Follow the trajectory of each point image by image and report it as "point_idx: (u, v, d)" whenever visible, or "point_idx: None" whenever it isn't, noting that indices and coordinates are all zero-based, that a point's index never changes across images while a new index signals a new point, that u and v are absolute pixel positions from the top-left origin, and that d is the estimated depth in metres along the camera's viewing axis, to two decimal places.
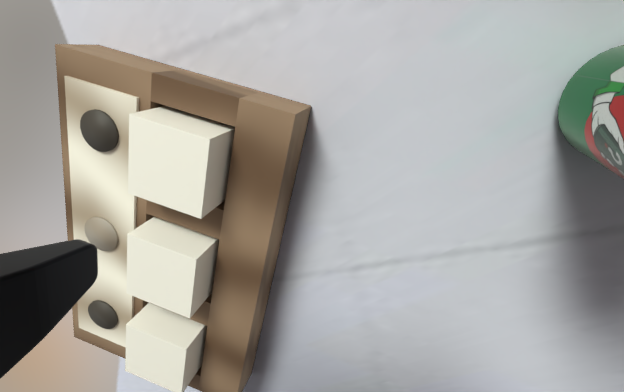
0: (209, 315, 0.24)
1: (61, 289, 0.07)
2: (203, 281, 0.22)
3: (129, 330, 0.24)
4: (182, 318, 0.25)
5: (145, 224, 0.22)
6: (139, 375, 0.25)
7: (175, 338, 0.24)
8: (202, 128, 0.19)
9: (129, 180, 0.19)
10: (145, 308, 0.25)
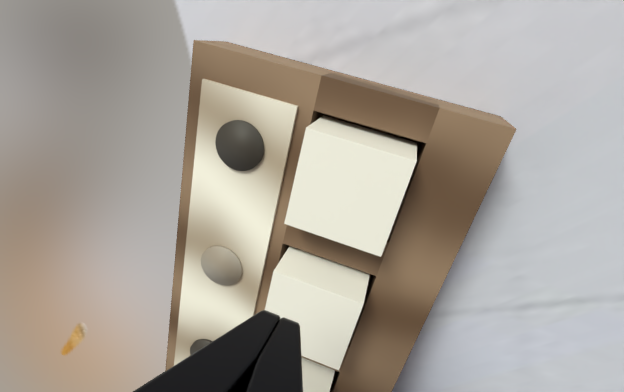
0: (344, 360, 0.21)
1: None
2: None
3: None
4: (308, 362, 0.22)
5: (285, 257, 0.18)
6: None
7: (309, 389, 0.20)
8: (391, 145, 0.15)
9: (289, 208, 0.16)
10: None
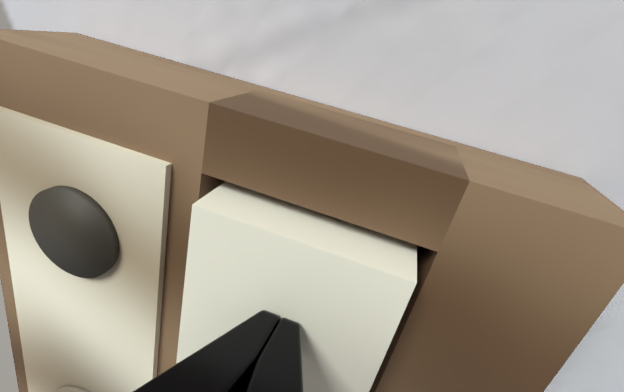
0: None
1: None
2: None
3: None
4: None
5: None
6: None
7: None
8: (368, 234, 0.08)
9: (181, 340, 0.09)
10: None
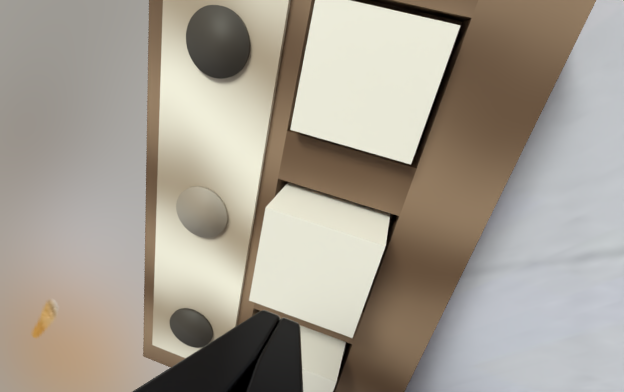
0: (357, 329, 0.17)
1: None
2: None
3: None
4: (312, 333, 0.18)
5: (281, 194, 0.14)
6: None
7: (315, 364, 0.16)
8: None
9: (296, 108, 0.13)
10: None
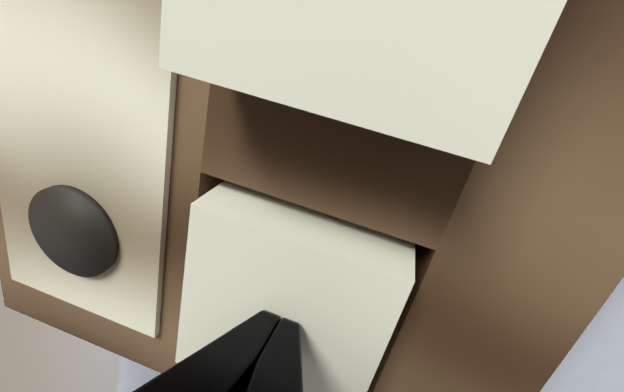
0: (453, 208, 0.07)
1: None
2: None
3: (201, 226, 0.07)
4: None
5: None
6: None
7: (360, 249, 0.07)
8: None
9: None
10: None
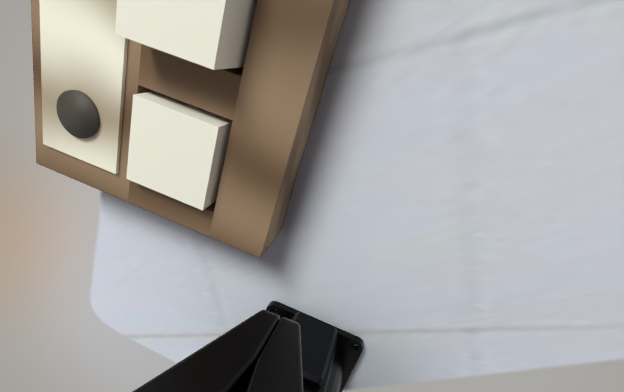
0: (237, 101, 0.17)
1: None
2: (238, 18, 0.14)
3: (137, 104, 0.17)
4: None
5: None
6: (145, 184, 0.19)
7: (202, 117, 0.17)
8: None
9: None
10: None
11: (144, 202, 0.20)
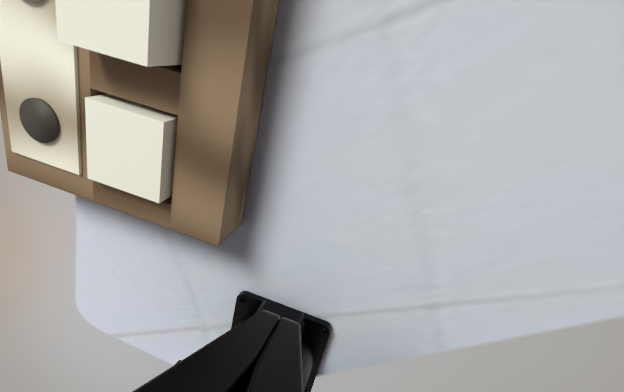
0: (180, 96, 0.18)
1: None
2: (168, 18, 0.15)
3: (89, 106, 0.18)
4: None
5: None
6: (105, 181, 0.20)
7: (150, 114, 0.18)
8: None
9: None
10: None
11: (108, 200, 0.21)
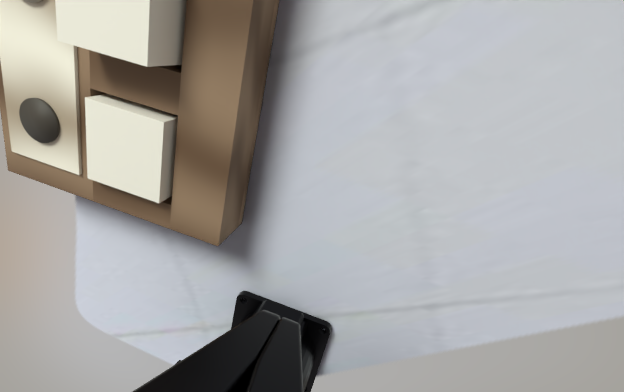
0: (180, 96, 0.18)
1: None
2: (168, 18, 0.15)
3: (89, 106, 0.18)
4: None
5: None
6: (105, 181, 0.20)
7: (150, 114, 0.18)
8: None
9: None
10: None
11: (108, 200, 0.21)
